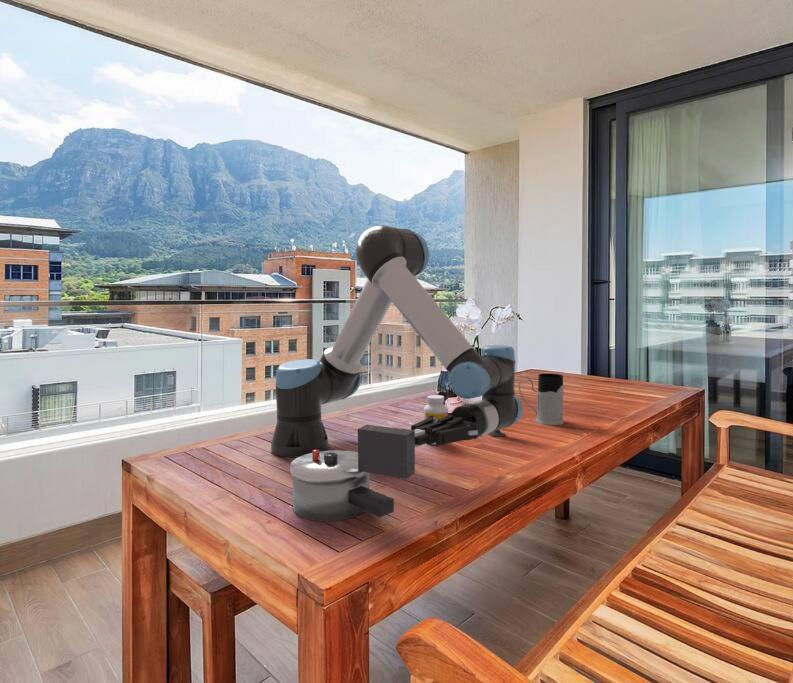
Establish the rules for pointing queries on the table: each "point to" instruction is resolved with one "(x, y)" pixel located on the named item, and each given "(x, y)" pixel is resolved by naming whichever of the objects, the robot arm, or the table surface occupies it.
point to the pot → (338, 500)
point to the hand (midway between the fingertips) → (398, 443)
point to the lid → (361, 457)
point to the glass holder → (548, 399)
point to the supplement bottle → (435, 408)
